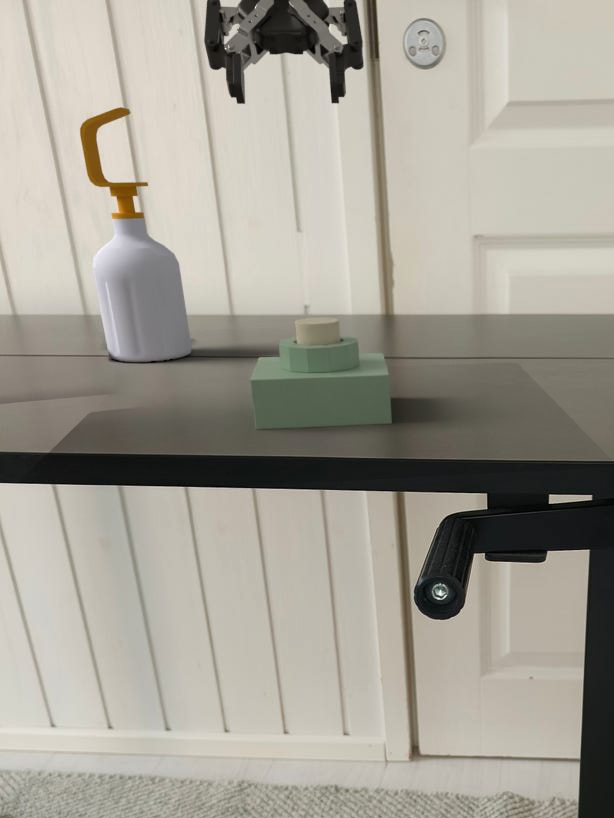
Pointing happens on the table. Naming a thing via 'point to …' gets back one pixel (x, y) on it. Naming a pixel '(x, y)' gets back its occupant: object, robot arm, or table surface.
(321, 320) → the cylinder
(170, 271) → the soap bottle
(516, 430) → the table surface
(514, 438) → the table surface
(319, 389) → the dispenser
